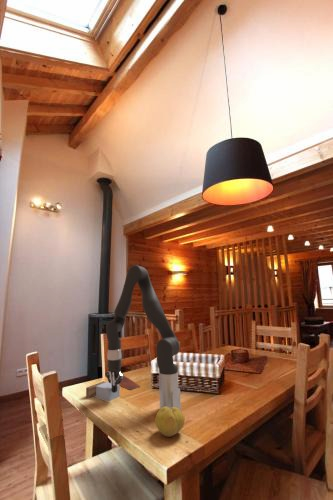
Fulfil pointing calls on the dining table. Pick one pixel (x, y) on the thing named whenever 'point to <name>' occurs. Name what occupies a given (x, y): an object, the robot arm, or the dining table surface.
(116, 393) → the slate brick
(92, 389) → the walnut board
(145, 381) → the dining table surface
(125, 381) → the wooden tablet
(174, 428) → the fruit
